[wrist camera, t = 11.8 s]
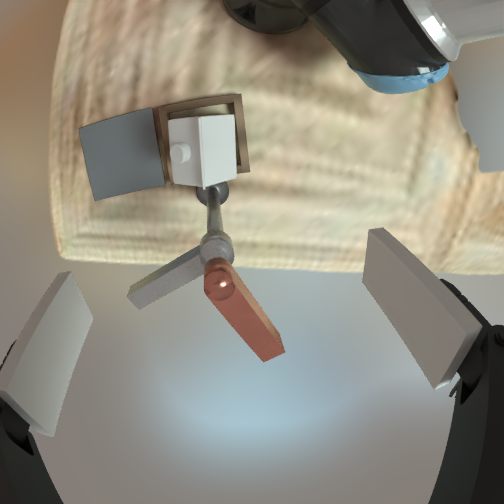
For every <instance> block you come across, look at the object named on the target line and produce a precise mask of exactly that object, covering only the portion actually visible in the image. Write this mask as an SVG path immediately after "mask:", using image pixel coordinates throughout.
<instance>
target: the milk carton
mask: <svg viewBox="0 0 504 504" xmlns="http://www.w3.org/2000/svg"><path fill="white" fill-rule="evenodd" d="M168 131H169V144H170V158H171V166H172V176H173V182H174V184H182V185H191V186H199V187H203V190H205V187H207V186H210V185H214V184H217V183H220V182H224V181H227V180H231V179H234V178H237V168H236V143H235V118H234V115H231V114H221V115H207V116H195V117H185V118H178V119H172V120H168Z"/></svg>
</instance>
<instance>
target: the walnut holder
mask: <svg viewBox="0 0 504 504" xmlns="http://www.w3.org/2000/svg"><path fill="white" fill-rule="evenodd" d="M227 103H233V110H234V118H235V126H236V134H237V143H238V151H239V159H240V163H236V168H237V174H239V173H246V172H250V166H249V157H248V148H247V139H246V131H245V122H244V113H243V105H242V96H241V94H234V95H226V96H218V97H211V98H204V99H198V100H192V101H187V102H181V103H176V104H171V105H166V106H162V107H158V112H159V119H160V125H161V131H162V137H163V143H164V149H165V155H166V160H167V166H168V171H169V177H170V182H171V185H173V184H174V182H173V176H172V166H171V158H170V144H169V131H168V120H170V116H169V113H172V112H177V111H182V110H188V109H194V108H199V107H206V106H212V105H219V104H227Z"/></svg>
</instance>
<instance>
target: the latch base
mask: <svg viewBox="0 0 504 504" xmlns="http://www.w3.org/2000/svg"><path fill="white" fill-rule="evenodd" d="M210 187H216V188H217V189H218V192H219V201H220V205H221V204H223V203H224V202H225V201H226V199H227V198H228V195H229V188H228V185H227V183H226V181H224V182H220V183H217V184H214V185H210V186H207V187H205V190H203V187H199V186H198V187H197V196H198V199H199V200H200V202H201V203H202V204H204V205H206V206H207V191H208V189H209V188H210Z"/></svg>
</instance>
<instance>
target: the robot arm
mask: <svg viewBox="0 0 504 504" xmlns="http://www.w3.org/2000/svg"><path fill="white" fill-rule="evenodd" d="M223 1H224V4H225V7H226V9H227V11H228V12H229V14H230V15H231V16H232V17H233V18H234V19H235V20H236V21H237V22H238V23H240V24H241V25H243V26H245V27H247V28H249V29H251V30H254V31H257V32H261V33H266V34H283V33H289V32H292V31H295V30H297V29H299V28H301V27H302V26H303V25H305V24H306V23H307V22H309V21H310V22H311V23H312V24H313V25H314V26H315V27H316V28H317V29H318V30H319V31H320V32H321V33H322V34H323V35H324V36H325V37H326V38H327V39H328V40H329V41H330V42H331V44H332V45H333V46H334V47H335V48H336V49H337V50H338V51H339V53H340V54H341V55H342V56H343V57H344V58H345V60H346V61H347V64H348V66H349V67H350V68H351V69H352V70H353V71H354V72H356V73H357V74H358V75H359V77H360V78H361V79H362V80H363V81H364V82H365V84H366V85H367V86H368V87H370V88H372V89H373V90H375V91H377V92H380V93H385V94H402V93H409V92H414V91H417V90H421V89H424V88H426V87H427V86H428V84H435V83H437V82H439V81H440V80H441V79H443V78H444V77H445V76H446V74H447V72H448V70H449V65H448V64H449V63H448V62H451V61H454V60H457V57H458V54H459V51H460V47H461V46H462V45H463V44H466V43H470V42H474V41H479V40H484V39H488V38H493V37H499V36H504V0H223ZM362 282H363V284H364V285H365V286H366V288H367V289H368V291H369V292H370V293H371V295H372V296H373V297H374V299H375V300H376V302H377V303H378V304H379V306H380V307H381V309H382V310H383V312H384V313H385V315H386V316H387V317H388V319H389V320H390V322H391V323H392V325H393V326H394V328H395V329H396V331H397V332H398V334H399V335H400V337H401V338H402V339H403V341H404V343H405V344H406V346H407V347H408V349H409V350H410V352H411V353H412V355H413V357H414V358H415V359H416V361H417V363H418V364H419V366H420V367H421V369H422V371H423V373H424V374H425V376H426V377H427V379H428V381H429V382H430V384H431V385H432V387H433V389H434V390H436V389H438V388H440V387H442V386H444V385H446V384H448V383H450V382H451V380H452V378H453V377H454V375H455V374H456V372H458V374H459V375H460V377H461V378H460V379H459V381H458V382H457V384H456V385H455V387H454V388H453V389H452V391H451V392H450V395H449V397H452V396H453V394H454V393H455V391H456V390H457V392H456V396H455V398H456V399H455V406H454V412H453V418H452V423H451V428H450V433H449V437H448V442H447V446H446V450H445V454H444V457H443V461H442V465H441V468H440V471H439V475H438V478H437V481H436V484H435V487H434V490H433V493H432V496H431V498H430V501H429V503H428V504H504V326H503V325H494V326H491V325H490V323H489V322H488V321H487V320H486V319H485V318H484V317H483V316H482V315H481V313H480V312H479V311H478V310H477V309H476V308H475V307H474V306H473V305H472V304H471V303H470V302H468V300H467V298H466V297H465V296H464V295H461V292H460V291H459V290H458V289H457V288H456V287H455V286H454V285H453V284H451V283H449V282H447V281H445V280H444V279H438V278H437V277H436V276H435V275H434V274H433V273H432V272H431V271H430V270H429V269H428V268H427V267H426V266H425V265H424V264H423V263H422V262H421V261H420V260H419V259H418V258H417V257H415V256H414V255H413V254H412V253H411V252H410V251H409V250H408V249H407V248H406V247H405V246H404V245H402V244H401V243H400V242H399V241H398V240H397V239H396V238H395V237H393V236H392V235H391V234H390V233H389V232H388V231H387V230H385V229H384V228H376V229H369V231H368V241H367V249H366V258H365V265H364V272H363V280H362ZM92 321H93V316H92V314H91V312H90V310H89V309H88V306H87V304H86V302H85V300H84V298H83V296H82V294H81V291H80V289H79V287H78V285H77V283H76V280H75V278H74V276H73V273H72V272H71V271H69V272H62V273H59V274H58V275H57V277H56V278H55V280H54V281H53V282H52V284H51V285H50V287H49V288H48V290H47V291H46V292H45V294H44V295H43V297H42V299H41V300H40V302H39V303H38V305H37V306H36V308H35V309H34V311H33V313H32V314H31V316H30V318H29V319H28V321H27V323H26V324H25V326H24V328H23V329H22V331H21V333H20V335H19V336H18V339H17V340H16V341H15V342H14V343H13V344H12V345H11V347H10V349H9V351H8V353H7V356H6V357H5V358H4V360H3V364H1V366H0V504H63V502H62V500H61V498H60V496H59V494H58V493H57V490H56V489H55V487H54V484H53V483H52V480H51V478H50V476H49V474H48V472H47V470H46V467H45V465H44V463H43V460H42V458H41V455H40V453H39V450H38V448H37V445H36V443H35V440H34V437H33V435H32V434H31V433H30V432H29V431H28V430H29V426H31V427H33V428H34V429H35V430H36V431H37V432H38V433H40V434H44V435H48V436H53V437H54V433H55V429H56V426H57V422H58V418H59V415H60V411H61V408H62V404H63V401H64V397H65V394H66V391H67V388H68V385H69V382H70V379H71V376H72V373H73V370H74V367H75V365H76V362H77V359H78V356H79V354H80V351H81V348H82V345H83V343H84V341H85V338H86V335H87V333H88V331H89V328H90V326H91V323H92Z"/></svg>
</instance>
